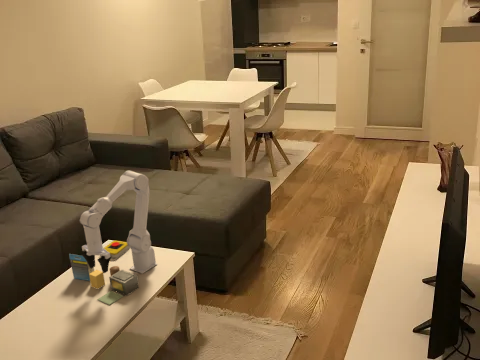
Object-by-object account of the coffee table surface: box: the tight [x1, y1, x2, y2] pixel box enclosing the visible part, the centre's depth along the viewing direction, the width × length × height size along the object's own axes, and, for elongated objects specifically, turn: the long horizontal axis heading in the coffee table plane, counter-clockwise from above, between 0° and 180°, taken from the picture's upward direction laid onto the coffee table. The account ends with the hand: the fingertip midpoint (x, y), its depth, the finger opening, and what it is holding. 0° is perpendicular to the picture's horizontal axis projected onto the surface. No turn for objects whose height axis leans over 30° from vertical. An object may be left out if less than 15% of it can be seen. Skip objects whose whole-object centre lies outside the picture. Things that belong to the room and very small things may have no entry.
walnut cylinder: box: [109, 265, 121, 276], centre depth 219 cm, size 4×4×6 cm
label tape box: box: [68, 253, 95, 282], centre depth 222 cm, size 9×4×12 cm, turn 70°
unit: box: [109, 269, 140, 297], centre depth 213 cm, size 7×9×6 cm
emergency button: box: [97, 240, 131, 262], centre depth 244 cm, size 9×4×15 cm
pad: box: [97, 290, 124, 306], centre depth 208 cm, size 7×7×1 cm
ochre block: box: [89, 269, 106, 290], centre depth 216 cm, size 4×4×6 cm
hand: (99, 269), depth 211 cm, fingers open, 7 cm apart
